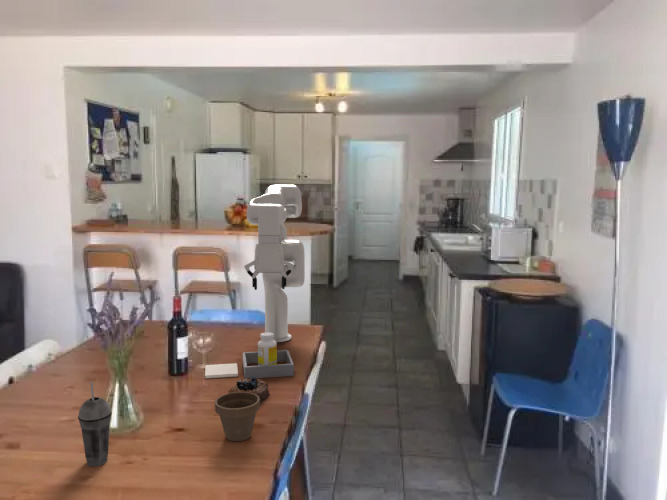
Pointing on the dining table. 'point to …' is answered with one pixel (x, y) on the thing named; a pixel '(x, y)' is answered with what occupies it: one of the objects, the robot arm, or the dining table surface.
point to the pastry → (252, 387)
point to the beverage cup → (95, 429)
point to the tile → (221, 370)
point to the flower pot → (237, 414)
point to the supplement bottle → (267, 349)
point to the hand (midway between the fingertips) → (269, 288)
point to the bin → (268, 366)
